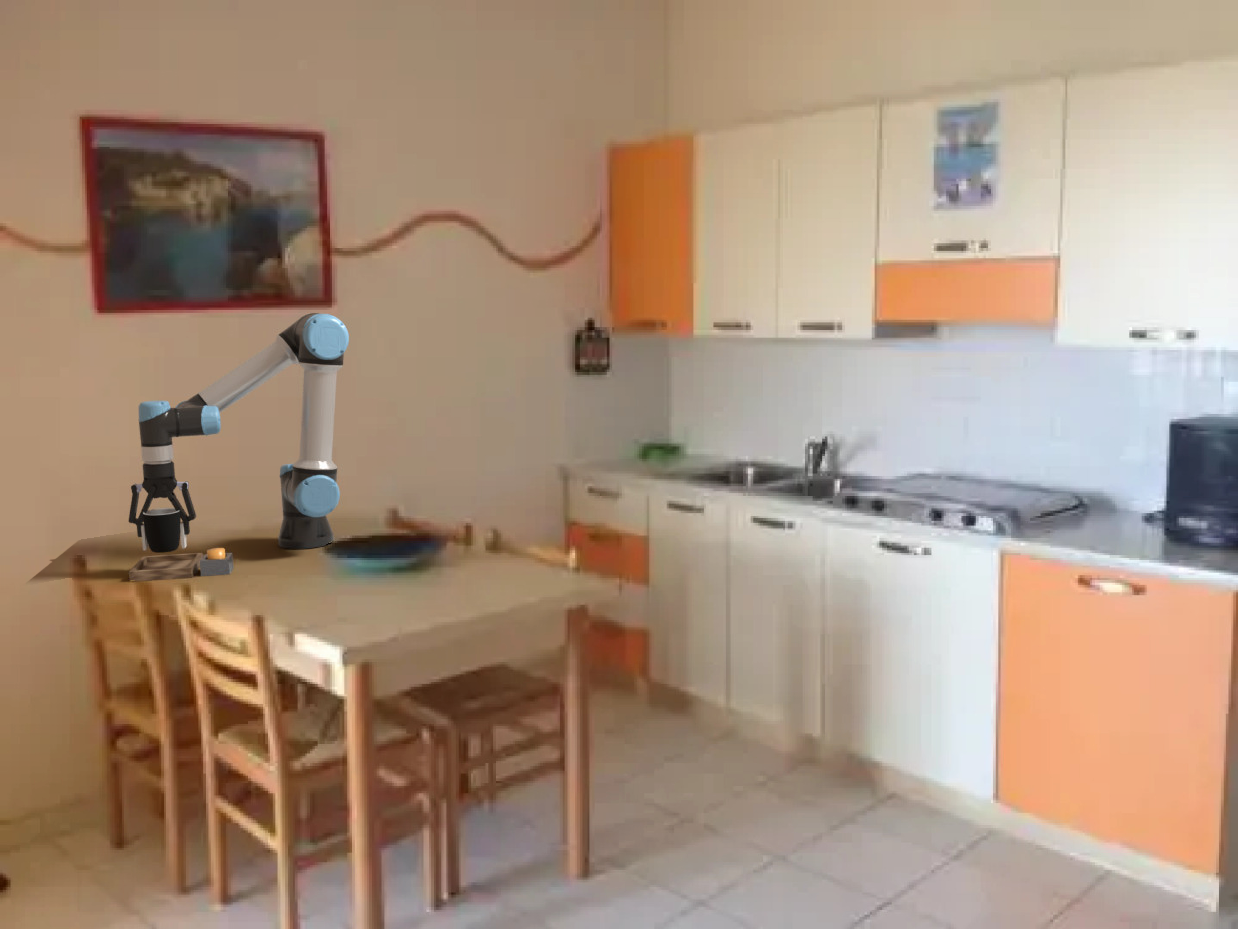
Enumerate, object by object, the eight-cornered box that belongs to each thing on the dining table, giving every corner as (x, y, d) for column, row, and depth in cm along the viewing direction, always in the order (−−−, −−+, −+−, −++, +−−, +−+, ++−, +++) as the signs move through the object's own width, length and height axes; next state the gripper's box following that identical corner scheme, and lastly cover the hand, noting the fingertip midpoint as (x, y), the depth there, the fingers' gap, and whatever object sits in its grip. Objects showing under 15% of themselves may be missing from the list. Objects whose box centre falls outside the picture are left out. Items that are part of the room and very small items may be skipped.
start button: (227, 566, 313) (225, 547, 312) (224, 570, 309) (223, 551, 308) (209, 567, 312) (208, 548, 311) (206, 571, 308) (205, 552, 307)
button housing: (233, 567, 314) (232, 552, 314) (229, 574, 308) (228, 559, 307) (205, 569, 313) (204, 554, 313) (201, 576, 306) (199, 560, 306)
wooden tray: (203, 562, 322) (202, 552, 321) (192, 577, 305) (191, 568, 305) (144, 565, 319) (143, 556, 319) (129, 581, 303) (128, 571, 302)
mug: (189, 549, 310) (186, 510, 308) (155, 555, 304) (152, 516, 302) (168, 543, 318) (164, 505, 317) (134, 549, 312) (131, 510, 310)
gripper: (204, 457, 313) (210, 542, 317) (117, 461, 309) (124, 547, 313) (199, 462, 306) (206, 549, 309) (109, 465, 302) (117, 553, 306)
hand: (165, 548), depth 311 cm, fingers closed on mug, 9 cm apart
